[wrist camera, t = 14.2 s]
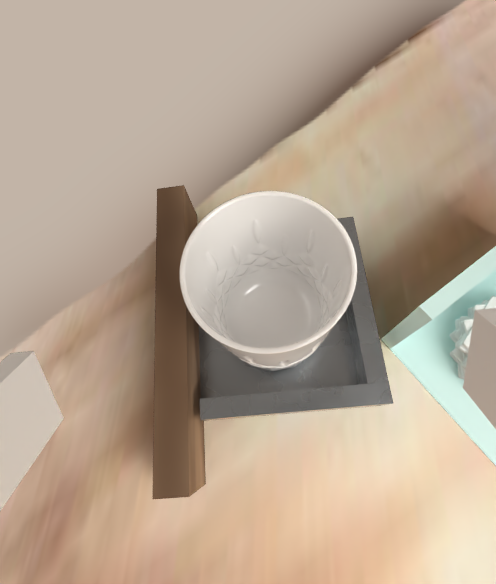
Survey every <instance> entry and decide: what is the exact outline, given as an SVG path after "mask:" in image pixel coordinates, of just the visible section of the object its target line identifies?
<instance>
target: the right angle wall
mask: <svg viewBox="0 0 496 584" xmlns="http://www.w3.org/2000/svg"><path fill="white" fill-rule="evenodd" d="M490 308H496V246H495V247H494V248H492V249H491V250H490V251H489V252H487V253H486V254H485V255H484V256H482V257H481V258H480V259H478V260H477V261H476V262H475V263H473V264H472V265H471V266H469V267H468V268H467V269H466V270H464V271H463V272H462V273H461V274H459V275H458V276H457V277H455V278H454V279H453V280H452V281H450V282H449V283H448V284H447V285H445V286H444V287H443V288H441V289H440V290H439V291H438V292H436V293H435V294H434V295H432V296H431V297H430V298H429V299H427V300H426V301H425V302H424V303H422V304H421V305H420V306H419V307H417V308H416V309H415V310H414V311H413V312H412V313H410V314H409V315H408V316H407V317H406V318H405V319H404V320H402V321H401V322H400V323H399V324H398V325H397V326H395V327H394V328H393V329H392V330H391V331H390V332H389V333H387V334H386V335H385V336H384V337H383V338H382V339H381V340H382V341H383V342H384V343H385V344H386V345H387V346H388V347H389V349H390V350H391V351H392V352H393V353H394V354H395V355H396V356H397V357H398V359H399V360H400V361H401V362H402V363H403V364H404V365H405V366H406V367H407V368H408V370H409V371H410V372H411V373H412V374H413V375H414V376H415V377H416V378H417V379H418V381H419V382H420V383H421V384H422V385H423V386H424V387H425V388H426V389H427V391H428V392H429V393H430V394H431V395H432V396H433V397H434V398H435V399H436V400H437V402H438V403H439V404H440V405H441V406H442V407H443V408H444V409H445V410H446V412H447V413H448V414H449V415H450V416H451V417H452V418H453V419H454V420H455V421H456V423H457V424H458V425H459V426H460V427H461V428H462V429H463V430H464V431H465V432H466V434H467V435H468V436H469V437H470V438H471V439H472V440H473V441H474V442H475V444H476V445H477V446H478V447H479V448H480V449H481V450H482V451H483V452H484V453H485V455H486V456H487V457H488V458H489V459H490V460H491V461H492V462H493V463H494V464H495V466H496V429H495V428H494V426H493V425H492V424H491V423H490V421H489V420H488V419H487V418H486V416H485V415H484V414H483V413H482V411H481V410H480V409H479V408H478V406H477V405H476V404H475V403H474V401H473V400H472V399H471V398H470V396H469V395H468V394H467V392H466V391H465V390H464V389H463V383H464V377H465V371H466V364H467V358H468V352H469V345H470V339H471V332H472V326H473V320H474V313H475V310H479V309H490Z"/></svg>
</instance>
